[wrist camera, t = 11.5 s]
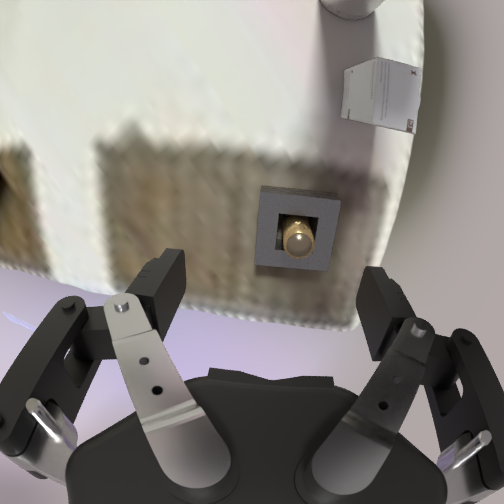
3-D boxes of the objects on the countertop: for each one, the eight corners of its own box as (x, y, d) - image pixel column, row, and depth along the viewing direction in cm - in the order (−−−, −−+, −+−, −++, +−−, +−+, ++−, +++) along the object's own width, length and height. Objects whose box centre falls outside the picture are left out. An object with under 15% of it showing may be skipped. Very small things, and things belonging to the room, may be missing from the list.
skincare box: (343, 69, 36) (374, 51, 22) (379, 77, 35) (423, 65, 22) (339, 120, 39) (369, 124, 26) (376, 127, 39) (418, 135, 26)
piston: (283, 210, 47) (285, 229, 39) (310, 212, 47) (317, 232, 39) (281, 235, 49) (281, 258, 41) (306, 237, 49) (312, 261, 41)
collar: (261, 185, 45) (260, 192, 42) (336, 193, 45) (341, 200, 41) (255, 253, 51) (254, 264, 47) (324, 259, 50) (327, 271, 47)
